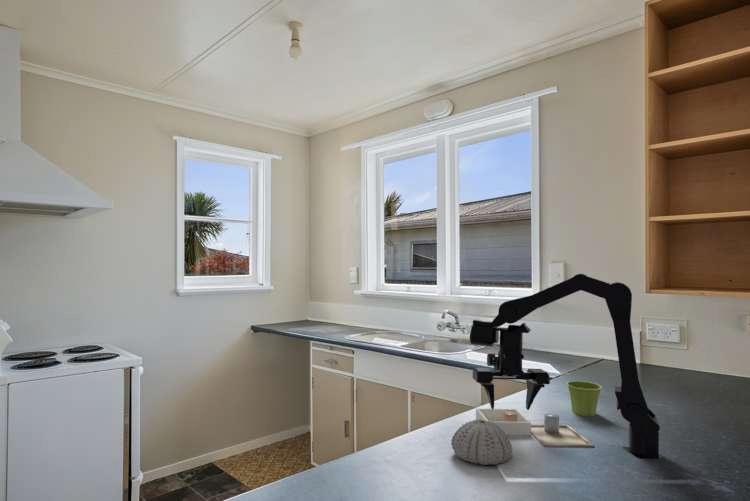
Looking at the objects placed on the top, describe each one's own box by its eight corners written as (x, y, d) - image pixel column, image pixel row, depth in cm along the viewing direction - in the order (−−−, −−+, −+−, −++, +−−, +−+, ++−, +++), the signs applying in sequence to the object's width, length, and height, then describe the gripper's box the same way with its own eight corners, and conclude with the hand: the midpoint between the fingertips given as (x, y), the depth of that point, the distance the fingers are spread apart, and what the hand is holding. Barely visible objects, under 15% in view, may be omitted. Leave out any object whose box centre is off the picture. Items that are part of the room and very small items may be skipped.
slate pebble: (561, 433, 119) (561, 417, 119) (547, 433, 119) (547, 417, 119) (555, 428, 122) (555, 413, 122) (542, 428, 122) (542, 413, 122)
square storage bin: (530, 437, 118) (531, 422, 118) (486, 436, 117) (486, 422, 117) (516, 422, 129) (516, 408, 129) (475, 421, 128) (476, 408, 128)
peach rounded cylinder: (519, 431, 119) (519, 416, 120) (505, 431, 119) (505, 415, 119) (514, 426, 123) (515, 411, 123) (501, 426, 123) (501, 411, 123)
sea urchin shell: (440, 449, 109) (441, 414, 109) (490, 443, 113) (490, 409, 114) (472, 474, 96) (472, 434, 96) (526, 465, 101) (526, 428, 101)
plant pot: (605, 421, 131) (606, 390, 131) (569, 418, 133) (570, 387, 133) (596, 411, 140) (597, 382, 141) (563, 408, 142) (563, 380, 142)
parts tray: (594, 449, 110) (594, 445, 110) (543, 448, 110) (544, 444, 110) (568, 428, 124) (568, 424, 124) (523, 428, 124) (523, 424, 124)
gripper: (534, 344, 130) (534, 400, 130) (468, 342, 130) (467, 399, 129) (551, 351, 119) (550, 413, 119) (478, 350, 119) (477, 412, 118)
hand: (509, 409), depth 121 cm, fingers open, 9 cm apart
